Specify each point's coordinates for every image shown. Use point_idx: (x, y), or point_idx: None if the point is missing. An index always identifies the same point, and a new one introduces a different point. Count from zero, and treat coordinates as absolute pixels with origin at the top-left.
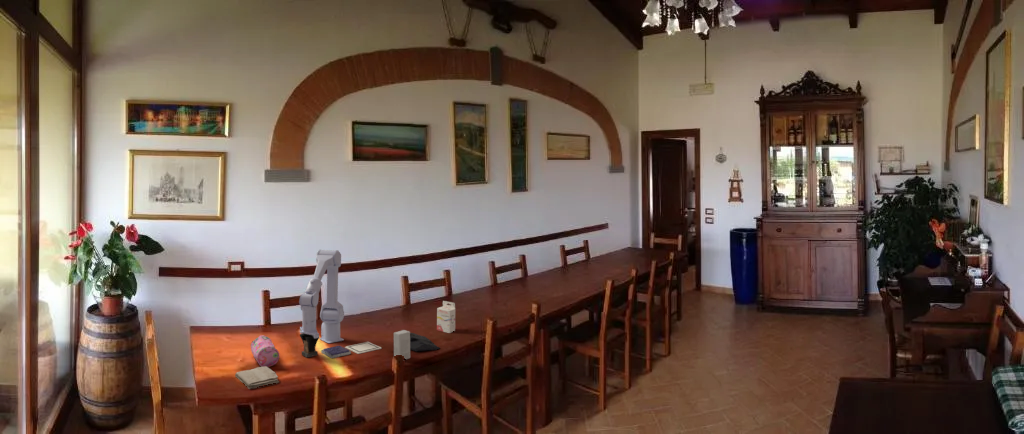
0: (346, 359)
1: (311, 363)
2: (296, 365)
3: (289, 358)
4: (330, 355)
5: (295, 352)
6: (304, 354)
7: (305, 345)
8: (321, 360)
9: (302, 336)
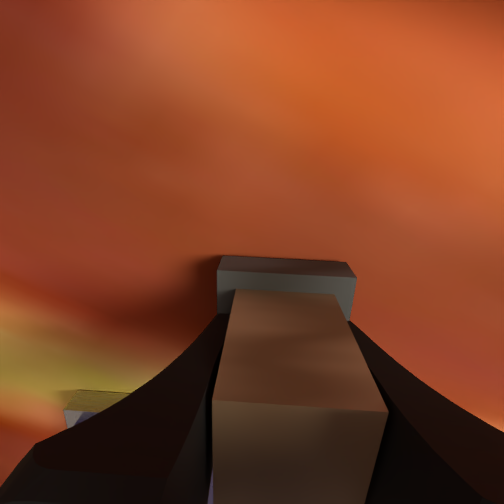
0: (2, 438)
1: (34, 208)
2: (46, 41)
3: (351, 103)
4: (95, 407)
5: (483, 258)
6: (276, 265)
7: (297, 346)
8: (75, 313)
9: (457, 498)
